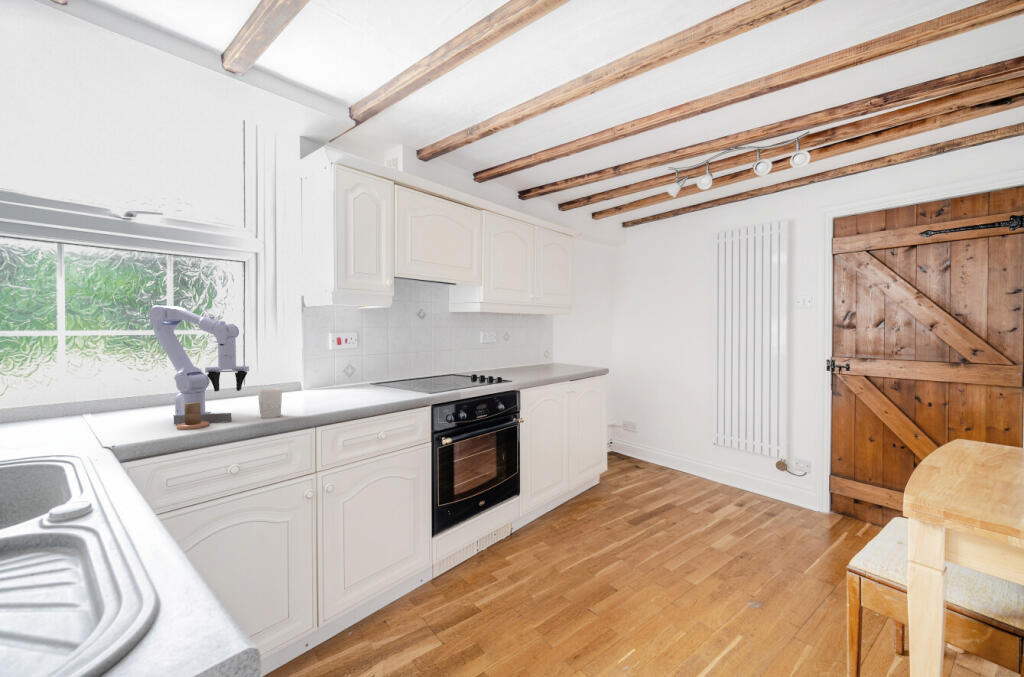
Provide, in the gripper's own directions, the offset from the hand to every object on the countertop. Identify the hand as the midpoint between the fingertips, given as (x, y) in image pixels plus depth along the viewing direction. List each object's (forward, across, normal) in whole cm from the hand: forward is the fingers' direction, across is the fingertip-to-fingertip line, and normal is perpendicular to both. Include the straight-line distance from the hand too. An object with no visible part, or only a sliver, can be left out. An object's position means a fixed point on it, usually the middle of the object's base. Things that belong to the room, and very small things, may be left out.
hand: (227, 390), depth 168 cm
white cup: (+10, +17, -6) cm, 21 cm away
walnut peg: (+8, -3, -19) cm, 21 cm away
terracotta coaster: (+9, -3, -19) cm, 22 cm away
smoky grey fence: (+9, -3, -13) cm, 16 cm away
